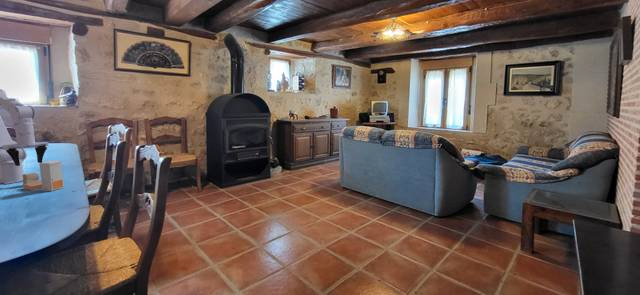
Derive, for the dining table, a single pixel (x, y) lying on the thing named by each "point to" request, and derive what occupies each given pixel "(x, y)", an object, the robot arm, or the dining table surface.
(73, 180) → the dining table surface
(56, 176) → the skincare box
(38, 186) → the terracotta base
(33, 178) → the ash block
